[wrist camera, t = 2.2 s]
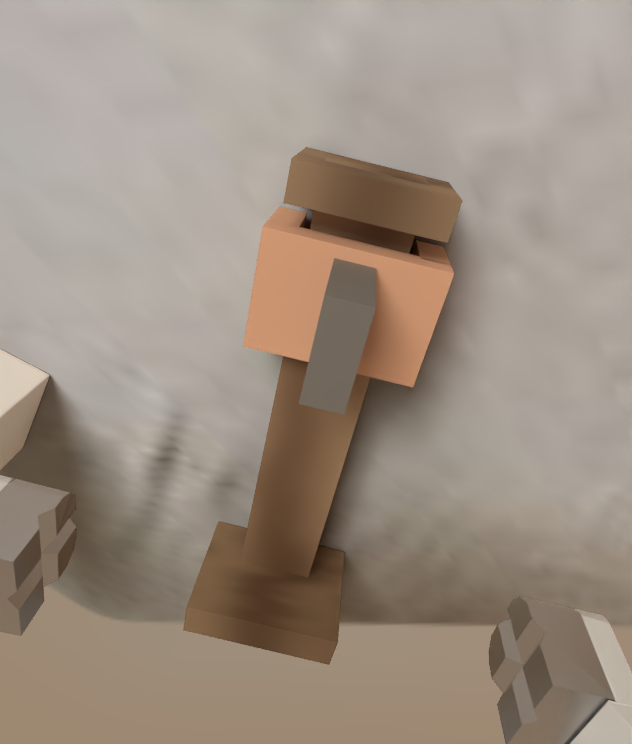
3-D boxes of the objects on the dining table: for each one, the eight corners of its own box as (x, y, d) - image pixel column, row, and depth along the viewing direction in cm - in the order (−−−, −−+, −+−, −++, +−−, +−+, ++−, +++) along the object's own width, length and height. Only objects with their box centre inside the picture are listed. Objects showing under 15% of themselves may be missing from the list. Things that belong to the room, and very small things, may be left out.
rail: (472, 188, 21) (503, 220, 16) (337, 572, 33) (329, 664, 28) (282, 141, 21) (250, 157, 16) (214, 543, 33) (183, 630, 27)
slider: (443, 246, 22) (471, 315, 15) (408, 348, 24) (419, 445, 18) (279, 206, 22) (235, 257, 15) (261, 312, 24) (216, 396, 18)
